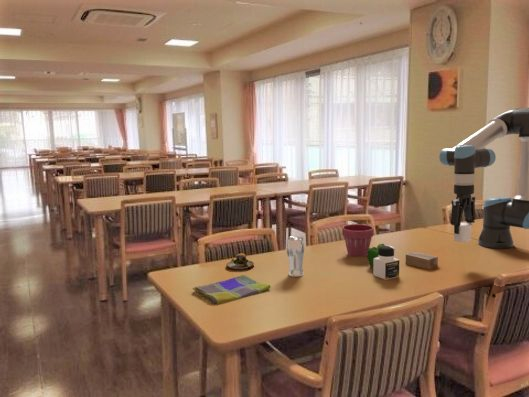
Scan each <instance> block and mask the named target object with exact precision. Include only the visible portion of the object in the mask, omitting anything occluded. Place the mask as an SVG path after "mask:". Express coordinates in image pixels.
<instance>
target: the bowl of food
mask: <svg viewBox="0 0 529 397" xmlns="http://www.w3.org/2000/svg"><path fill="white" fill-rule="evenodd" d="M241 250H242V251H243V250H244V249H241ZM254 264H255V263H254V262H253V261H252V260H249V259H247V255H246V254H245V253H243V252H241V253H238V254H236V255H235V258H232V259H231V260H230V261H229V262H227V263H226V268H227V267H228V268H230V269H232V270H233V269H234V270H245V269H250V270H252V269H254V267H255V265H254Z"/></svg>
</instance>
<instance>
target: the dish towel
mask: <svg viewBox="0 0 529 397" xmlns="http://www.w3.org/2000/svg"><path fill="white" fill-rule="evenodd" d="M269 289H271V285H270V284H267V283H260V282H258V281H256V280H254V279H253V278H251V277H249V276H248V275H246V274H244V275H240V276H235V277H232V278H229V279H225V280H221V281H217V282H214V283H209V284H207V285H206V284H205V285H200V286H199V285H198V286H194V287H192V290H194V292H196V293H198V294H199V295H200V296H202V297H204V298H205V299H206V300H207V301H208V302H210V303H211V304H212V305H220V304H224V303H229V302H233V301H236V300H239V299H244V298H247V297H250V296H254V295H257V294H260V293H263V292H265V291H267V290H269Z"/></svg>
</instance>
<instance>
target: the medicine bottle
mask: <svg viewBox="0 0 529 397" xmlns="http://www.w3.org/2000/svg"><path fill="white" fill-rule="evenodd" d="M372 268H373V271H372V272H373V276H374V277H377V278H380V279H382V280H385V281H387V280H391V279H395V278H400V259H399V258H396V257H395V247H394V246H392V245H385V244H384V246H380V247H379V248H378V257H377V258H374V259H373V267H372Z"/></svg>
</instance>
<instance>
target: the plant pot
mask: <svg viewBox="0 0 529 397" xmlns="http://www.w3.org/2000/svg"><path fill="white" fill-rule="evenodd" d="M374 232H375V230H374V227H373V226H371V225H367V224H361V223H360V224H358V223H356V224H354V223H353V224H347V225H343V226H342V231H341V233H342V234H341V236H343V239H344V242H345V247H346V252H347V254H348V256H350V257H356V258H358V257H359V258H360V257H361V258H362V257H366V256H368V249H369V248H371V247H370V246H371V242H372V237H374Z"/></svg>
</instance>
